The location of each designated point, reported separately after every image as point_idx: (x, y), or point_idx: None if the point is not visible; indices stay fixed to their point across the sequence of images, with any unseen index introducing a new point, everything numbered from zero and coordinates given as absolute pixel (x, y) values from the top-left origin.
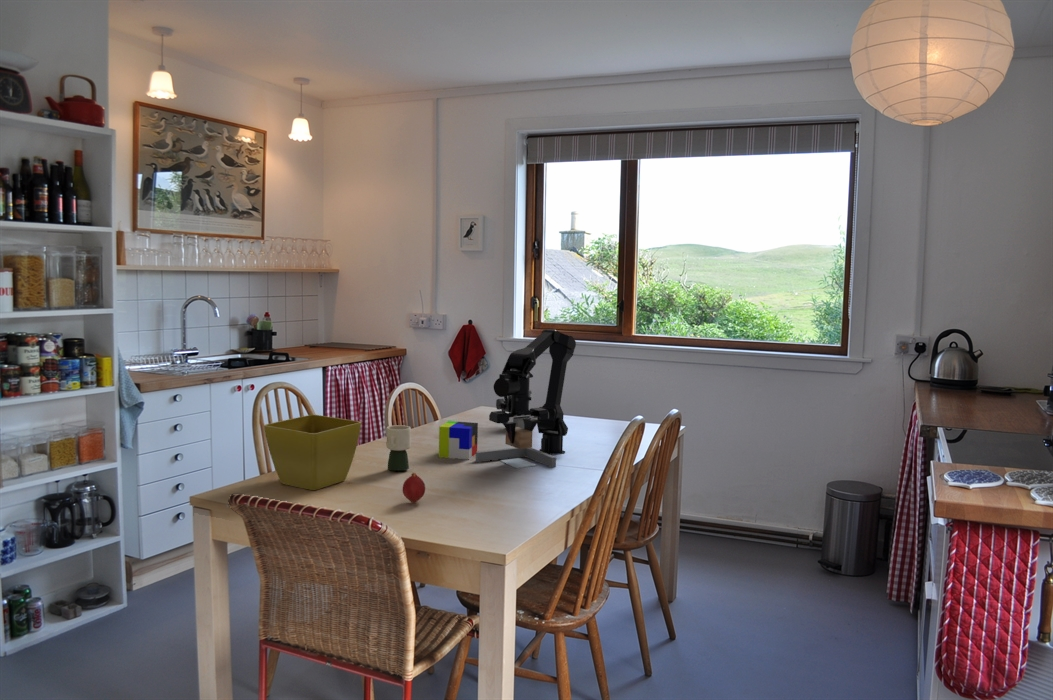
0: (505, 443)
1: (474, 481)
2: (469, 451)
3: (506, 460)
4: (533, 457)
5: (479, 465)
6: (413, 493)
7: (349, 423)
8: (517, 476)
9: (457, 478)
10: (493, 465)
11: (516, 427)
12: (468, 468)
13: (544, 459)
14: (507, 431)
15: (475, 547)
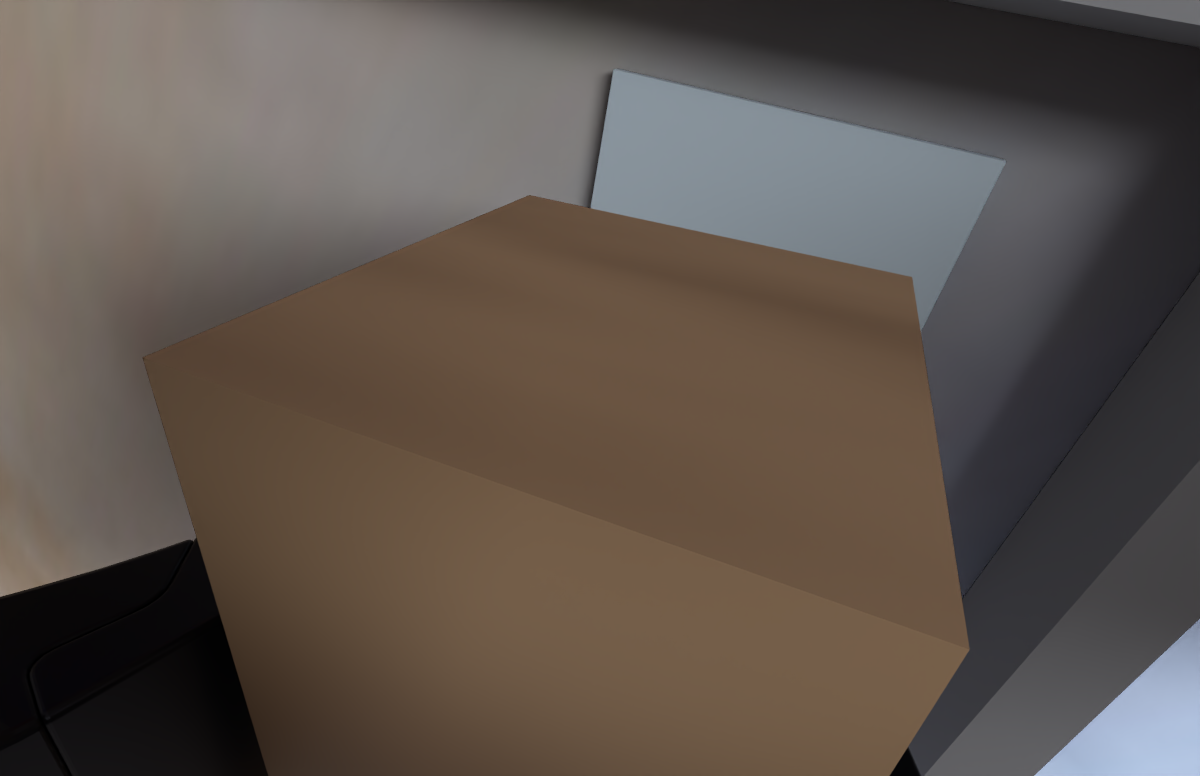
0: (520, 202)
1: (117, 439)
2: None
3: (683, 144)
4: (1142, 392)
5: (280, 70)
6: None
7: None
8: None
9: (29, 306)
10: (418, 191)
11: (746, 661)
12: (145, 104)
13: (966, 656)
14: (145, 592)
15: None
